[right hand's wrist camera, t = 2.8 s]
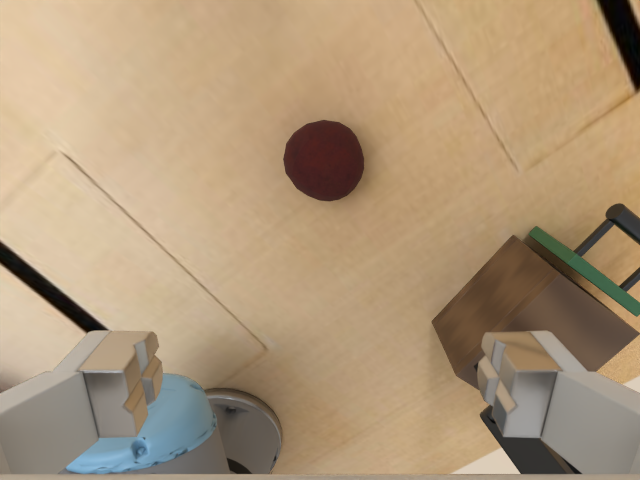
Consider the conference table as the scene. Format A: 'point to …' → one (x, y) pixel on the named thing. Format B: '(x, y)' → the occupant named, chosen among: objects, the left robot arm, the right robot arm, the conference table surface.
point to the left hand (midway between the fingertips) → (540, 393)
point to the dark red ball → (324, 160)
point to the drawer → (615, 215)
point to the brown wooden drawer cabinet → (527, 312)
